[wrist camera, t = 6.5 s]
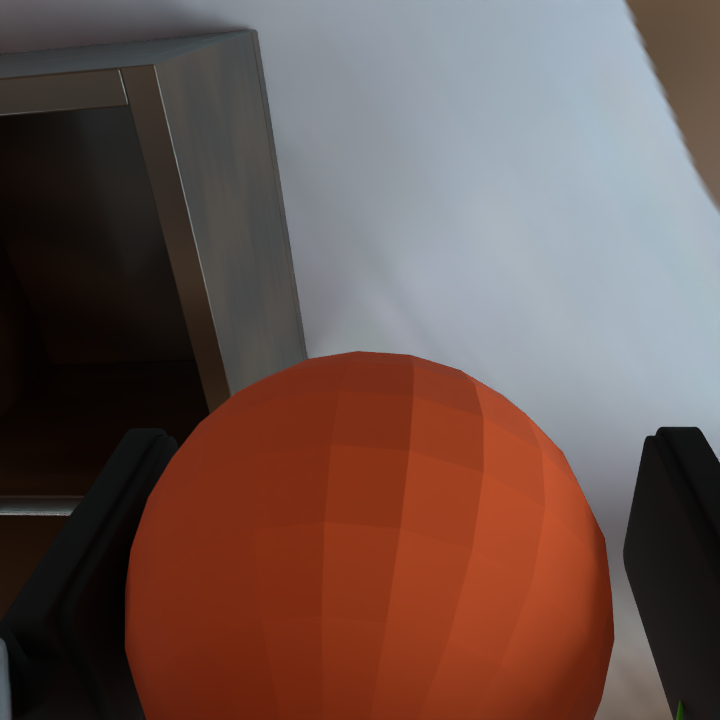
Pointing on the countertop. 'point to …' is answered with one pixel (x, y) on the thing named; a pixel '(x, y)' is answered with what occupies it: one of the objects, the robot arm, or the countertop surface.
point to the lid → (23, 551)
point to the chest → (133, 251)
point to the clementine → (368, 557)
